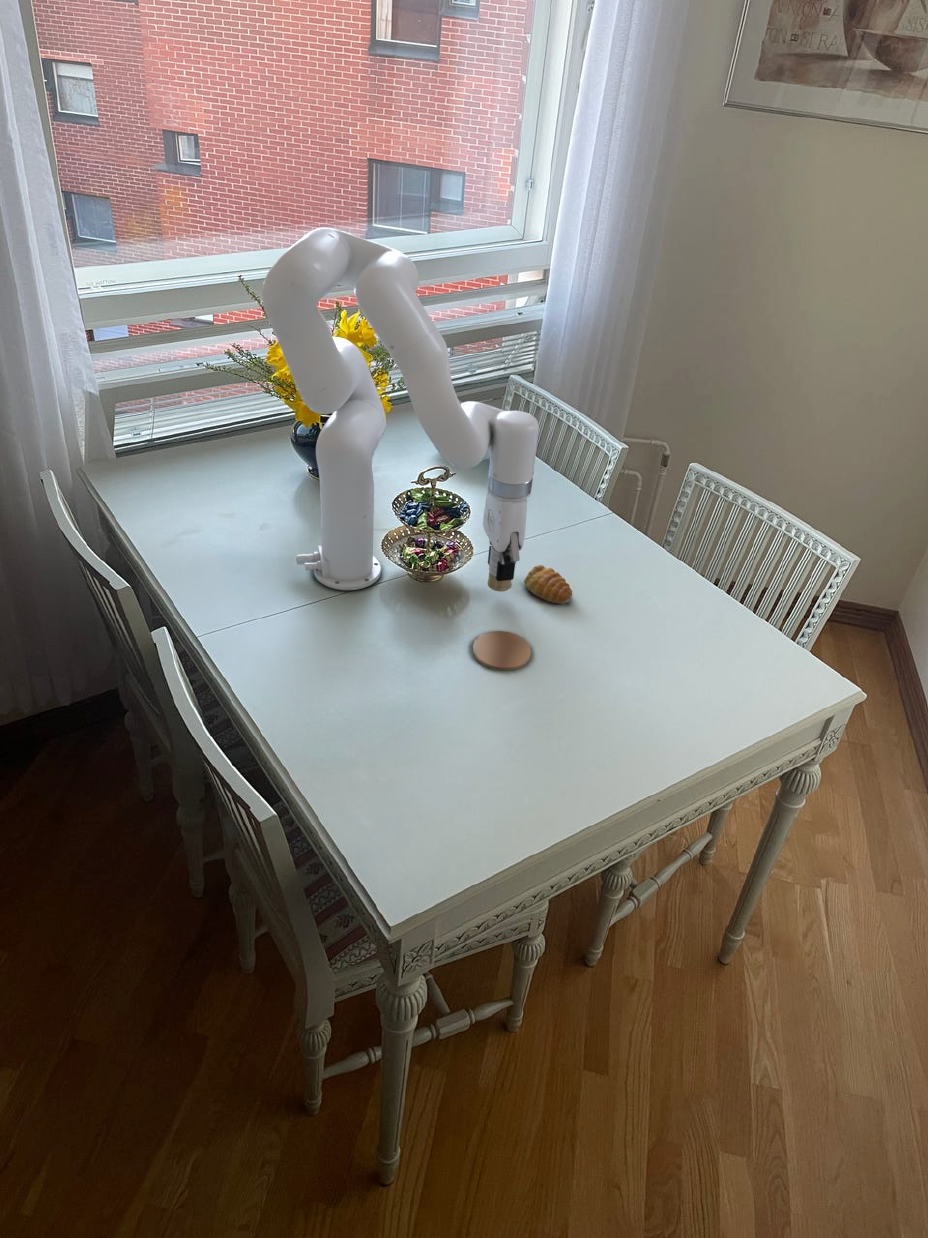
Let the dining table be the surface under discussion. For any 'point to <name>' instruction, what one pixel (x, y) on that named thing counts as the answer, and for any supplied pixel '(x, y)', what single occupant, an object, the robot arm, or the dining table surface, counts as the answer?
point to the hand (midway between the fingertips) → (500, 570)
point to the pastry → (548, 585)
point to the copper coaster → (501, 650)
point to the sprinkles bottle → (492, 580)
